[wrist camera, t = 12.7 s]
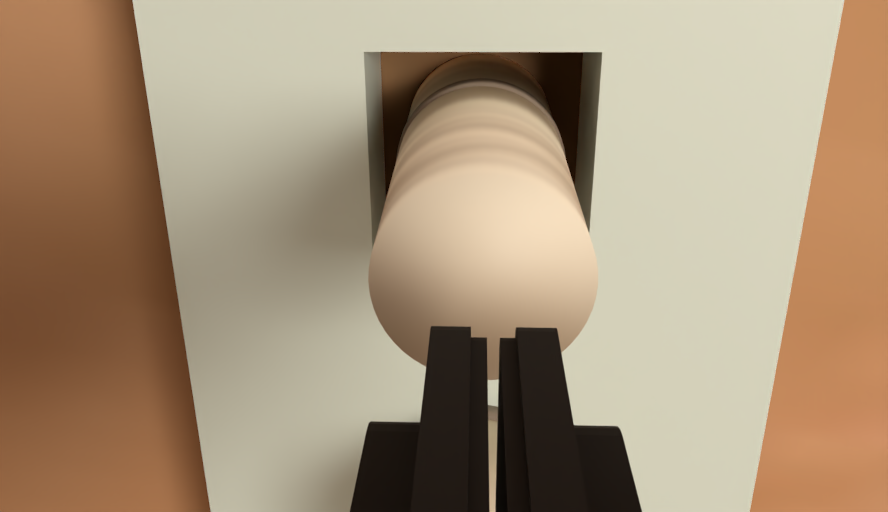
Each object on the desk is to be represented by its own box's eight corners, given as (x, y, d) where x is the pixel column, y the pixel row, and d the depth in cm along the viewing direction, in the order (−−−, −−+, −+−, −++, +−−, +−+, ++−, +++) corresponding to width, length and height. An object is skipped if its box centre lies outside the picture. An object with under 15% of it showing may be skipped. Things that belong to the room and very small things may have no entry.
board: (158, -192, 21) (-90, -243, 12) (819, -198, 20) (1100, -255, 11) (249, 510, 30) (149, 790, 21) (705, 519, 29) (808, 811, 20)
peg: (405, 51, 23) (359, 170, 14) (556, 52, 23) (610, 171, 14) (409, 193, 25) (370, 381, 16) (549, 193, 25) (593, 384, 15)
